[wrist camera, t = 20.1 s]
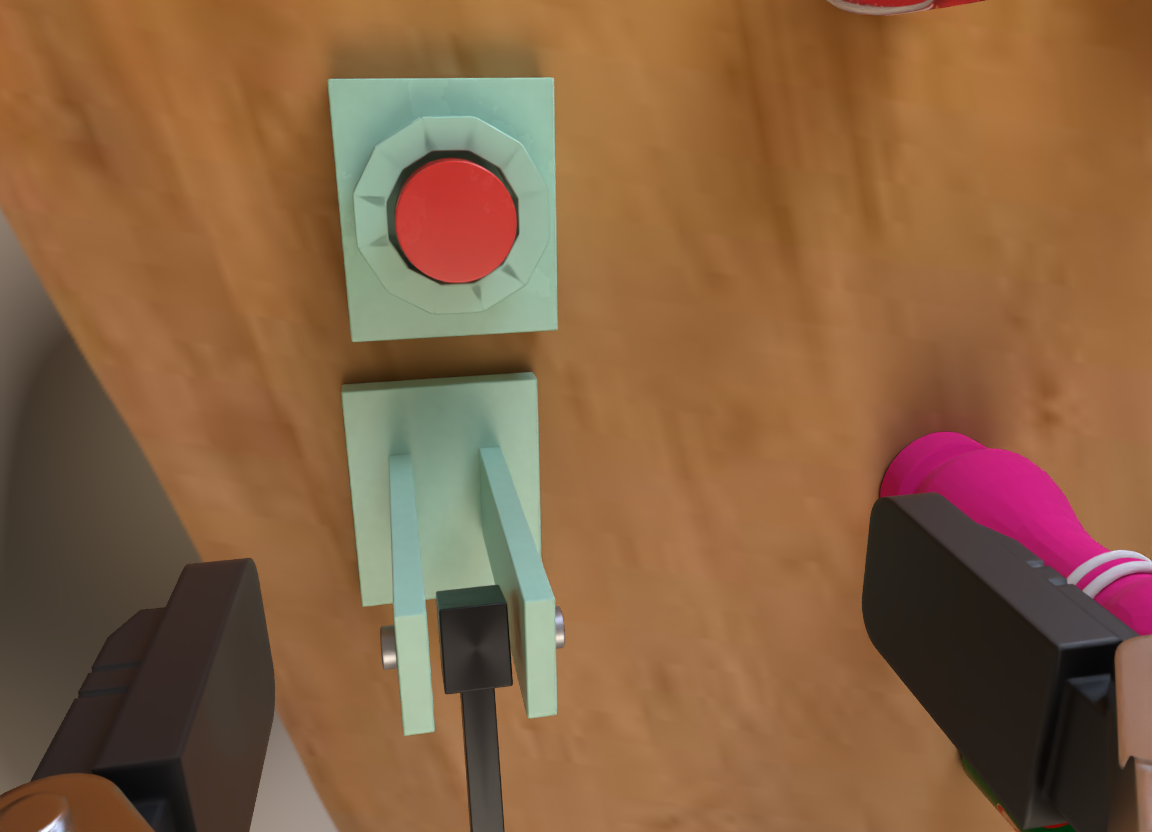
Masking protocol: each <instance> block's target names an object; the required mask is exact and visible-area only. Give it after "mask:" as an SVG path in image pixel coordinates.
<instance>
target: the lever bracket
mask: <svg viewBox="0 0 1152 832" xmlns="http://www.w3.org/2000/svg"><path fill="white" fill-rule="evenodd" d="M341 397H342V407H343V417H344V428H345V438H346V448H347V458H348V468H349V478H350V488H351V499H352V509H353V519H354V529H355V539H356V549H357V559H358V570H359V580H360V590H361V600H362V606H363V607H365V606H374V605H383V604H392V603H393V618H394V625H390V626H382V627H381V629H380V636H381V653H382V664H383V669H384V670H389V669H397V668H398V676H399V688H400V700H401V711H402V723H403V734H404V736H408V735H415V734H422V733H429V732H434V731H435V723H434V709H433V695H432V681H431V667H430V654H429V640H428V626H427V613H426V602H425V600H428V599H436V592H437V591H443V590H452V589H461V588H470V587H479V586H489V585H499V586H500V588H501V591H502V593H503V595H504V597H505V600H506V602H507V606H508V621H509V636H510V648H511V652H512V656H513V660H514V664H515V669H516V673H517V677H518V681H519V685H520V689H521V693H522V697H523V701H524V705H525V710H526V714H527V717H528V718H529V719H530V718H537V717H544V716H552V715H556V714H557V676H556V649H557V648H563V647H564V644H565V629H564V621H563V615H562V611H561V609H560V607H559V606H555V598H554V595H553V592H552V589H551V586H550V584H549V581H548V578H547V575H546V572H545V570H544V567H543V564H542V552H541V511H540V469H539V428H538V387H537V378H536V377H535V375H534V373H533V372H522V373H507V374H493V375H478V376H463V377H448V378H433V379H418V380H403V381H388V382H373V383H358V384H344V385H342V390H341Z"/></svg>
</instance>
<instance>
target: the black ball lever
mask: <svg viewBox="0 0 1152 832" xmlns="http://www.w3.org/2000/svg"><path fill="white" fill-rule="evenodd" d="M436 602H437V616H438V629H439V643H440V656H441V669H442V676H443V683H444V690H445V694H453V693H460V698H461V711H462V725H463V739H464V752H465V766H466V780H467V793H468V807H469V821H470V832H505V831H504V817H503V803H502V789H501V774H500V760H499V746H498V732H497V717H496V703H495V689H494V688H499V687H506V686H512V684H513V680H512V665H511V650H510V636H509V621H508V606H507V602H506V600H505V597H504V595H503V593H502V591H501V588H500V586H499V585H489V586H479V587H470V588H461V589H452V590H443V591H437V592H436Z"/></svg>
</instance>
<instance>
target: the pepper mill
mask: <svg viewBox="0 0 1152 832" xmlns="http://www.w3.org/2000/svg"><path fill="white" fill-rule="evenodd" d="M928 492H936V493H939V494H940V495H942V496H943V497H944V498H946V499H947V500H948V501H949V502H951V503H952V504H953V505H955V506H956V507H957V508H958V509H960V510H961V511H962V512H963V513H965V514H966V515H967V516H968V517H970V518H971V519H972V520H973V521H975V522H976V523H977V524H981V525H983V526H985V527H987V528H990V529H992V530H994V531H997V532H999V533H1001V534H1003V535H1006V536H1008V537H1010V538H1012V539H1015V540H1017V541H1018V542H1019V543H1021V544H1022V545H1023V546H1025V547H1026V548H1027V549H1029V550H1030V551H1031V552H1032V553H1034V554H1035V555H1036V556H1038V557H1039V558H1040V559H1042V560H1043V561H1044V565H1045V566H1051V567H1052V568H1053V569H1055V570H1056V571H1057V572H1058V573H1060V574H1061V575H1062V576H1064V577H1065V578H1066V579H1067V583H1068V584H1074V585H1075V586H1077V587H1078V588H1079V589H1081V590H1082V591H1083V592H1084V593H1086V594H1087V595H1088V596H1090V597H1091V598H1092V599H1094V600H1095V601H1096V602H1097V603H1099V604H1100V605H1101V606H1103V607H1104V608H1105V609H1107V610H1108V611H1109V612H1110V613H1112V614H1113V615H1114V616H1116V617H1117V618H1118V619H1120V620H1121V621H1122V622H1123V623H1125V624H1126V625H1127V626H1129V627H1130V628H1131V629H1133V630H1134V631H1135V632H1136V633H1138V634H1139V635H1140V636H1142V635H1152V561H1151V560H1150V559H1148V558H1147V557H1145V556H1143V555H1142V554H1139V553H1137V552H1133V551H1128V550H1116V551H1110V550H1108V549H1106V548H1104V547H1103V546H1102V545H1100V544H1099V543H1097V542H1096V541H1094V540H1093V539H1092V538H1091V536H1090V535H1089V534H1088V533H1087V532H1086V531H1085V530H1084V528H1083V527H1082V525H1081V524H1080V522H1079V520H1078V519H1077V517H1076V515H1075V513H1074V511H1073V509H1072V507H1071V505H1070V504H1069V502H1068V500H1067V498H1066V496H1065V495H1064V494H1063V492H1062V491H1061V489H1060V488H1059V487H1058V486H1057V485H1056V484H1055V482H1054V481H1053V480H1052V479H1051V478H1050V476H1049V475H1048V474H1047V473H1046V472H1045V471H1043V470H1042V469H1041V468H1039V467H1038V466H1037V465H1035V464H1034V463H1032V462H1031V461H1030V460H1028V459H1027V458H1025V457H1023V456H1021V455H1019V454H1017V453H1014V452H1010V451H1007V450H1002V449H988V448H987V447H985V446H983V445H982V444H980V443H978V442H976V441H975V440H973V439H971V438H969V437H967V436H965V435H963V434H960V433H956V432H946V431H945V432H937V433H931V434H928V435H925V436H923V437H921V438H919V439H917V440H915V441H913V442H912V443H911V444H909V445H908V446H907V447H905V448H904V449H903V450H902V451H901V452H900V453H899V454H898V455H897V457H896V458H895V459H894V460H893V462H892V463H891V464H890V466H889V468H888V470H887V472H886V474H885V476H884V479H883V482H882V486H881V489H880V498H881V497H888V496H898V495H908V494H918V493H928Z"/></svg>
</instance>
